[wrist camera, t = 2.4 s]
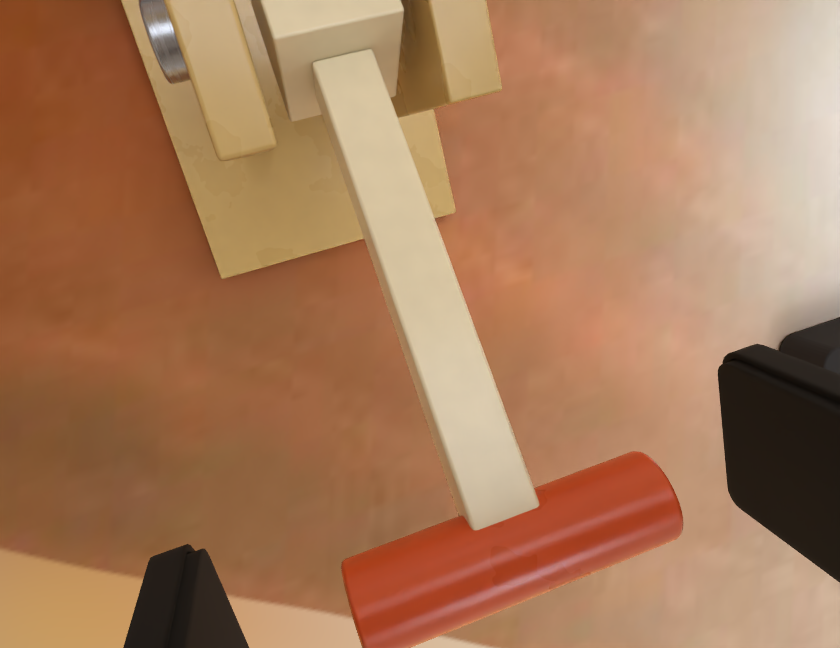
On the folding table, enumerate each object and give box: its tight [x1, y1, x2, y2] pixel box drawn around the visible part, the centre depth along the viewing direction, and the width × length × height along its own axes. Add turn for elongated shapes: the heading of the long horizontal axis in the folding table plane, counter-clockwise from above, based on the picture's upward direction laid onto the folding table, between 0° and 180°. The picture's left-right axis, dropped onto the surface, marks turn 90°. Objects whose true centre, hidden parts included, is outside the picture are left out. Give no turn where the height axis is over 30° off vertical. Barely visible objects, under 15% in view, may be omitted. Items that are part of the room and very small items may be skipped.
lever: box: [251, 0, 683, 648], centre depth 10 cm, size 12×5×2 cm, turn 15°
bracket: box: [121, 0, 502, 279], centre depth 15 cm, size 12×9×13 cm
